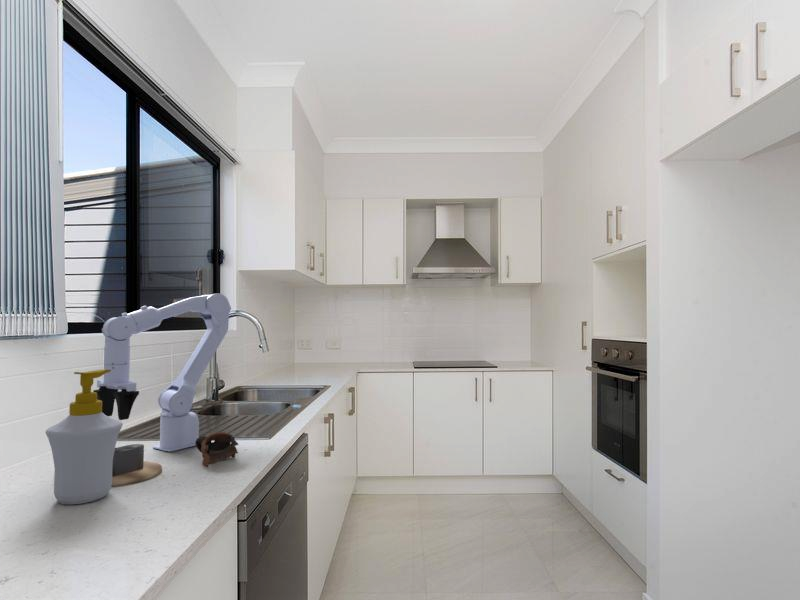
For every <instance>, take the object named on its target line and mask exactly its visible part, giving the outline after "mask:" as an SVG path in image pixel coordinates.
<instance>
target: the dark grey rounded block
mask: <svg viewBox="0 0 800 600" xmlns="http://www.w3.org/2000/svg"><path fill="white" fill-rule="evenodd" d="M144 452H145V445H144V444H141V443H136V444H127V445H123V446H118V447H115V450H114V456H113V465H112V477H114V476H118V475H121V474H125V473H129V472H133V471H137V470H140V469H142V468H143V465H144V461H145V460H144V459H145V457H144V456H145V455H144V454H145V453H144Z"/></svg>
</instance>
